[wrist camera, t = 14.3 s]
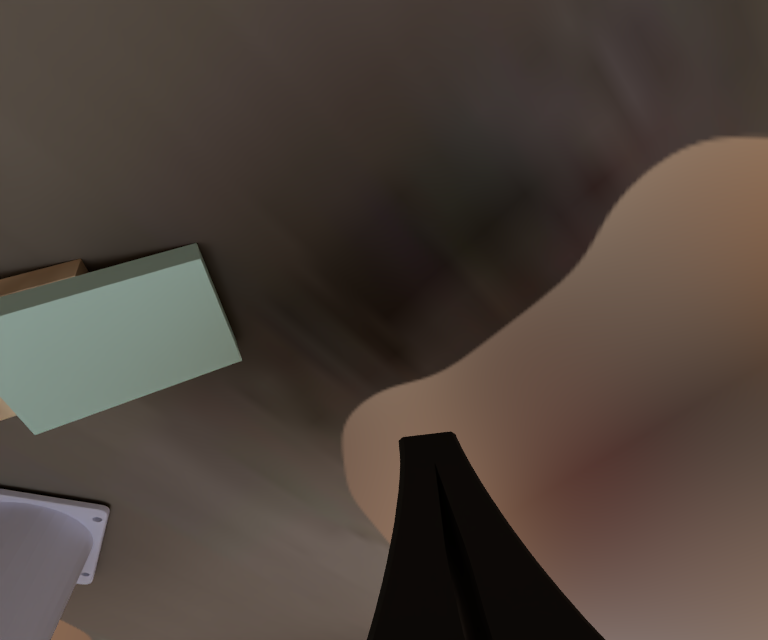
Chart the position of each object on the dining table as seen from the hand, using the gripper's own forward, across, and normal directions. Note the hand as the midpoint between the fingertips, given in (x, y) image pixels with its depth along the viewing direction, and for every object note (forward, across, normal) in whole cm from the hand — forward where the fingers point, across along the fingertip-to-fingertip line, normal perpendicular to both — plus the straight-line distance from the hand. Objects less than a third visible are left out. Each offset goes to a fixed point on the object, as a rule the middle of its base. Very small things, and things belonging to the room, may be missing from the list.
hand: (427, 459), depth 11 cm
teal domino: (+9, +7, 0) cm, 11 cm away
